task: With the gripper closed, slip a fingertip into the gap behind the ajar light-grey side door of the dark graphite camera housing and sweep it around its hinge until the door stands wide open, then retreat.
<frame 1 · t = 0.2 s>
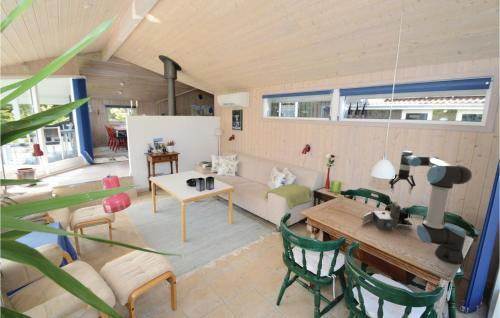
hand: (400, 192, 207), 28 cm above the table, fingers open, 13 cm apart
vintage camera: (399, 225, 207), on the table
side door: (366, 217, 212), point 4 cm above the table, hinge at 45.0°
camera housing: (381, 224, 208), on the table
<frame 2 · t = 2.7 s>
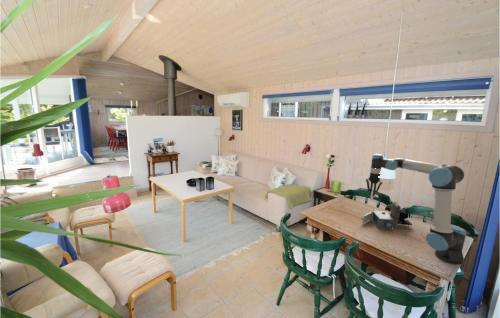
hand: (371, 199, 202), 24 cm above the table, fingers closed
nothing on the table moved.
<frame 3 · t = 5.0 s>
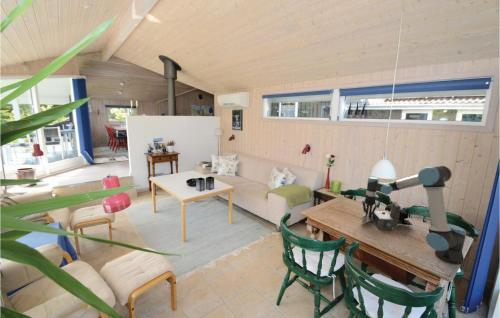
hand: (367, 220, 207), 4 cm above the table, fingers closed
side door: (366, 217, 212), point 4 cm above the table, hinge at 47.2°, touching gripper
everything else where it was.
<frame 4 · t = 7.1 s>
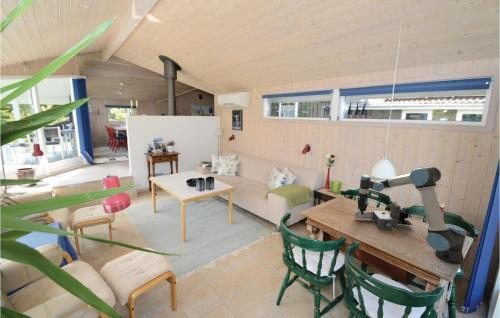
hand: (360, 217, 213), 4 cm above the table, fingers closed
side door: (363, 215, 216), point 4 cm above the table, hinge at 83.2°, touching gripper
everything else where it was.
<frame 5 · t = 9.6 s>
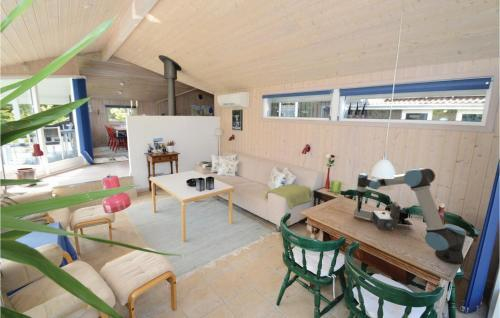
hand: (358, 214, 219), 3 cm above the table, fingers closed
side door: (363, 213, 219), point 4 cm above the table, hinge at 114.2°
everything else where it was.
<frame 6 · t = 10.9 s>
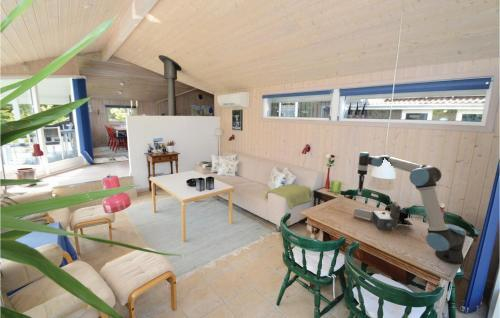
hand: (359, 194, 213), 23 cm above the table, fingers closed
nothing on the table moved.
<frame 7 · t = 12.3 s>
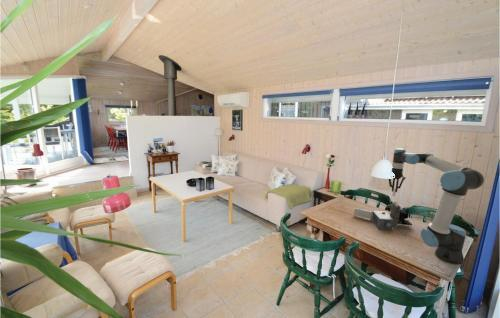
hand: (393, 195, 195), 30 cm above the table, fingers closed
nothing on the table moved.
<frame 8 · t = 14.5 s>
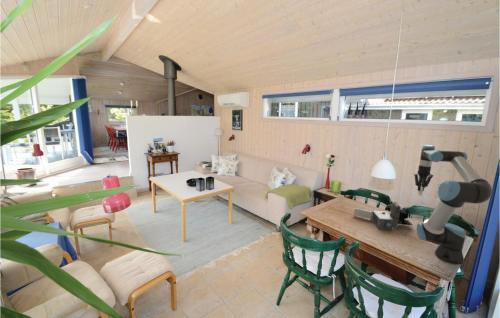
hand: (419, 194, 185), 34 cm above the table, fingers closed
nothing on the table moved.
at the end: side door at +114° (first picture: +45°) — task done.
